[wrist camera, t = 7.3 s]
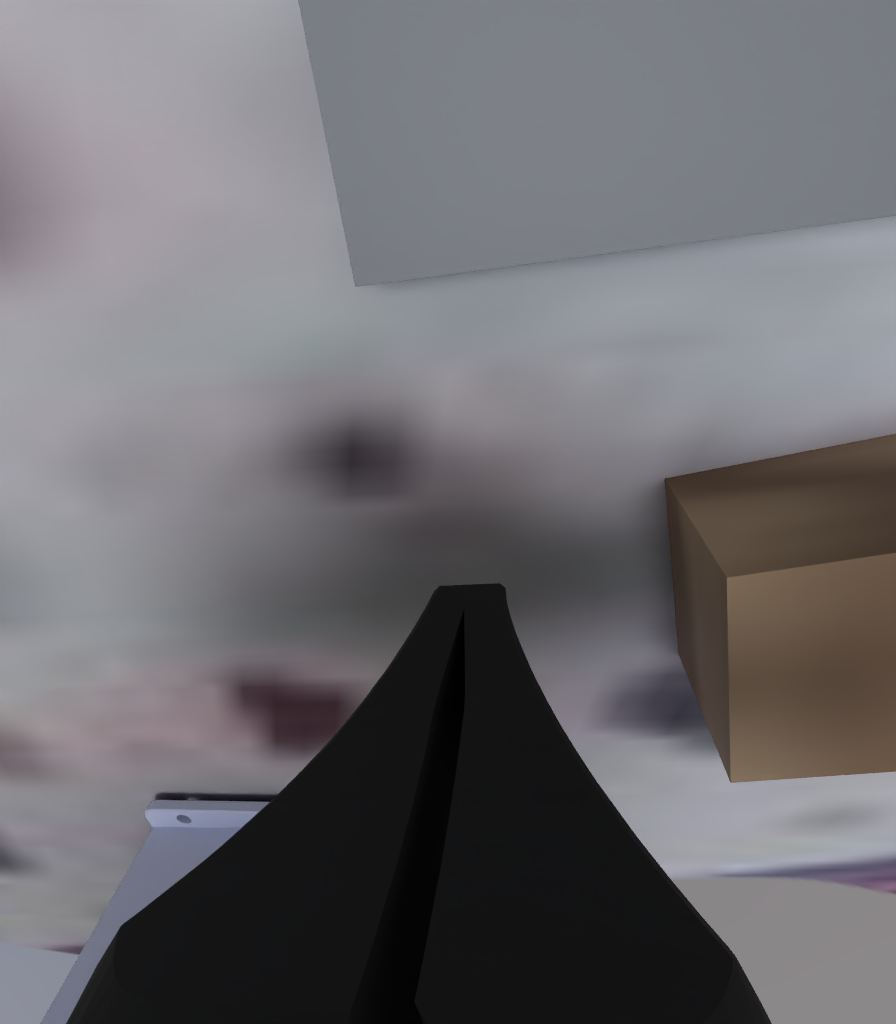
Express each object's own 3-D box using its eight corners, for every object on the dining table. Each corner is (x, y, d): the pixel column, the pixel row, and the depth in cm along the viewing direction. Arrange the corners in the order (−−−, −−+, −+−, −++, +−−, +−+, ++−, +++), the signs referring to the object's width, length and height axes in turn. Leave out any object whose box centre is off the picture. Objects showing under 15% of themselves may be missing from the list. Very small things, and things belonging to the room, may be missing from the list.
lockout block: (676, 649, 13) (730, 783, 10) (662, 474, 10) (727, 577, 7) (905, 621, 12) (1045, 760, 9) (944, 419, 9) (1153, 515, 6)
